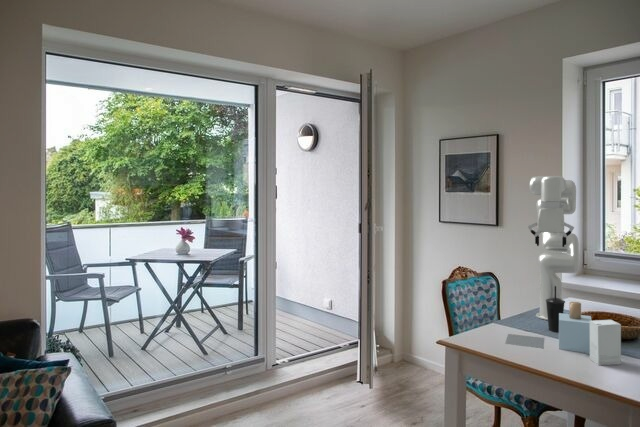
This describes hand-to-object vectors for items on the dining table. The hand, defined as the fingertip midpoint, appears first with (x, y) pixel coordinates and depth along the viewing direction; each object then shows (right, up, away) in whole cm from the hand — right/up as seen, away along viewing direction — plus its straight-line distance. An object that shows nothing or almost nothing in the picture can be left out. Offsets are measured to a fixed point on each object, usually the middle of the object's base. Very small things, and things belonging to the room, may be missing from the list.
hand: (550, 246), depth 197 cm
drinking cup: (+6, -38, +7) cm, 39 cm away
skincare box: (+5, -40, -29) cm, 50 cm away
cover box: (+3, -39, -14) cm, 41 cm away
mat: (-13, -39, -5) cm, 41 cm away
